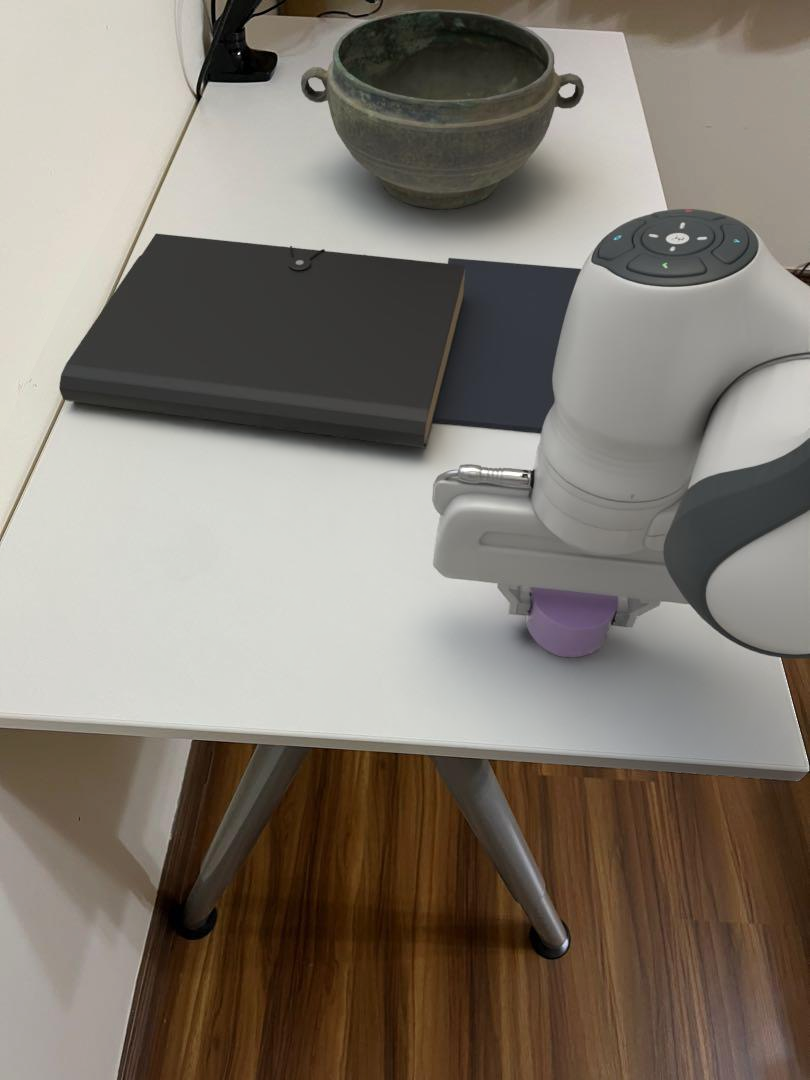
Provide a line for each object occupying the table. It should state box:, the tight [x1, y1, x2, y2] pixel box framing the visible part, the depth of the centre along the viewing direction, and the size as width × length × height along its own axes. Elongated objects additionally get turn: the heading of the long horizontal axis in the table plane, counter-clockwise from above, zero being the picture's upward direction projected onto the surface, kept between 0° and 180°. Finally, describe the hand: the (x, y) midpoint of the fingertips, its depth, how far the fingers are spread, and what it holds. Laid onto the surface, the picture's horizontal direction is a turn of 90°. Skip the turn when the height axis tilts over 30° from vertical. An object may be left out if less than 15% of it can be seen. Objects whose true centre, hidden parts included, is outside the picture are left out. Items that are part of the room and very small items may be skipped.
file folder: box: [59, 233, 466, 449], centre depth 81 cm, size 33×4×24 cm
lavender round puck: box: [525, 587, 618, 658], centre depth 61 cm, size 6×6×5 cm
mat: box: [432, 257, 582, 434], centre depth 84 cm, size 20×26×1 cm
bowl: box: [300, 8, 585, 210], centre depth 99 cm, size 32×26×15 cm
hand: (570, 613), depth 61 cm, fingers closed on lavender round puck, 6 cm apart
